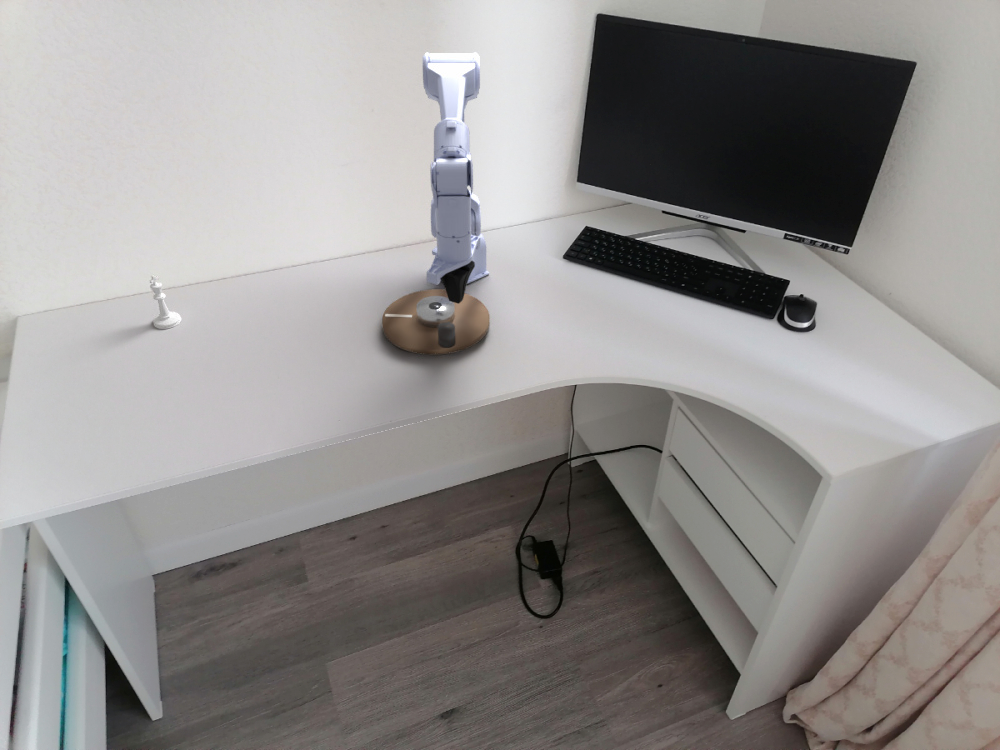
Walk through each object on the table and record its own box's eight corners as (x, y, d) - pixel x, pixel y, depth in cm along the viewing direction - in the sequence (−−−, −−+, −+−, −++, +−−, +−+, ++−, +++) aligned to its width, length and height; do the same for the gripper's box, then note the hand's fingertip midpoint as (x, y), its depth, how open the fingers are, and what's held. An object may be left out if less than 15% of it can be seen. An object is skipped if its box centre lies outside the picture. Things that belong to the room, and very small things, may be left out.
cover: (456, 308, 138) (456, 296, 137) (452, 328, 133) (451, 317, 131) (420, 306, 139) (419, 294, 137) (414, 327, 133) (413, 315, 132)
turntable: (492, 296, 144) (492, 275, 141) (486, 356, 128) (486, 334, 126) (392, 292, 145) (390, 271, 142) (373, 352, 129) (370, 330, 126)
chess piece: (147, 325, 137) (131, 279, 131) (166, 312, 140) (152, 266, 134) (168, 331, 135) (153, 285, 129) (187, 317, 139) (173, 272, 133)
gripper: (454, 207, 126) (456, 276, 134) (408, 243, 115) (413, 314, 124) (491, 216, 123) (490, 285, 131) (447, 253, 113) (449, 325, 121)
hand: (455, 300), depth 127 cm, fingers closed
